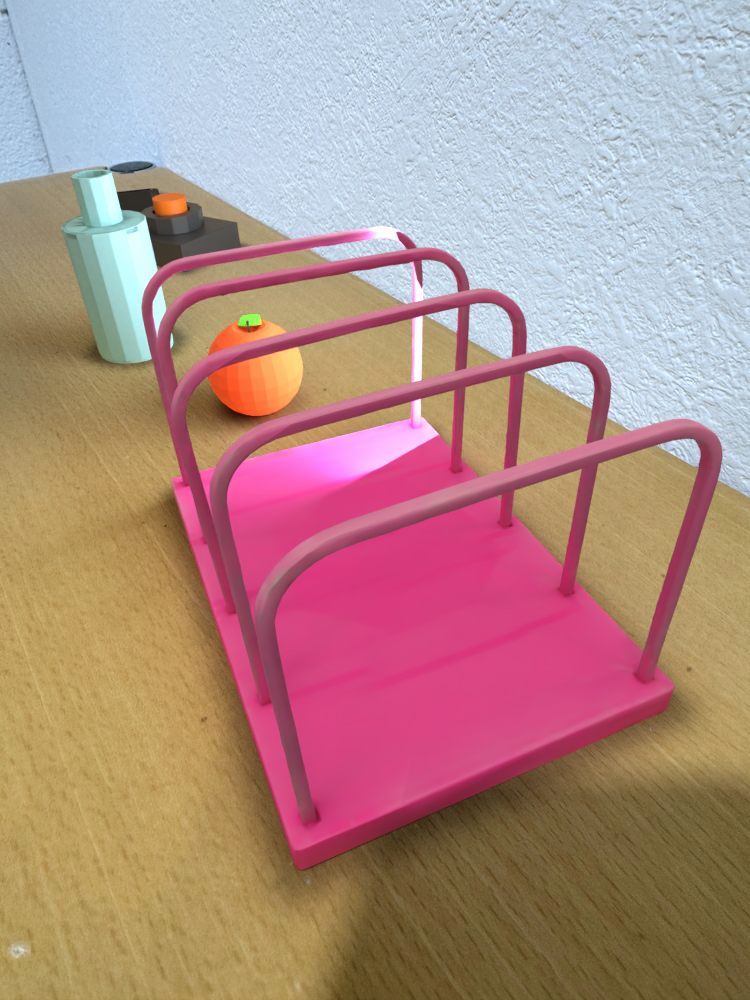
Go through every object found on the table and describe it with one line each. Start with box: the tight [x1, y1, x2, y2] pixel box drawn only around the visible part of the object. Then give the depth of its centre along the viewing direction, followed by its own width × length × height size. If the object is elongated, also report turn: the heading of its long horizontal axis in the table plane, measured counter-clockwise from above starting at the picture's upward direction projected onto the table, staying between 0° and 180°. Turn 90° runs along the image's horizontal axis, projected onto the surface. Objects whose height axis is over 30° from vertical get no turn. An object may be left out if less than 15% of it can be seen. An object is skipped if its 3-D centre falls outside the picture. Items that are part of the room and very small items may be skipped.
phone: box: [116, 187, 161, 213], centre depth 94 cm, size 8×1×15 cm
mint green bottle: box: [61, 168, 175, 365], centre depth 57 cm, size 6×6×14 cm
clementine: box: [207, 313, 304, 417], centre depth 51 cm, size 8×7×7 cm
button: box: [152, 192, 188, 216], centre depth 78 cm, size 4×4×2 cm
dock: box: [141, 201, 242, 273], centre depth 80 cm, size 11×9×5 cm
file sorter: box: [141, 226, 724, 871], centre depth 33 cm, size 17×25×16 cm
